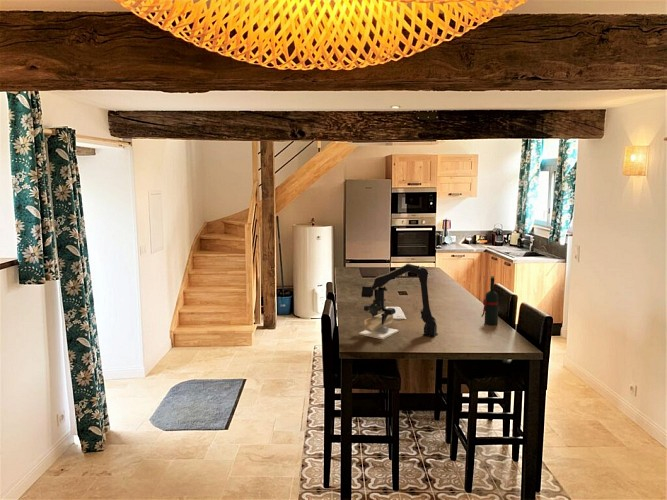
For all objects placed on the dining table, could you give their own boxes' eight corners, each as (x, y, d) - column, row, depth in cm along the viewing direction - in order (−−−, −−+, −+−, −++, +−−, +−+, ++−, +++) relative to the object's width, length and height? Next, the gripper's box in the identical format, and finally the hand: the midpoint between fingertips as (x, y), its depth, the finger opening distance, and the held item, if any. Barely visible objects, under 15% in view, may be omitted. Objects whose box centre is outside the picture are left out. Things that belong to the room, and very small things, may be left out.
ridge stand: (398, 331, 302) (398, 325, 302) (382, 339, 288) (382, 332, 288) (376, 327, 312) (376, 320, 311) (359, 334, 298) (359, 327, 297)
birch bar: (393, 322, 307) (393, 312, 307) (371, 331, 288) (371, 321, 288) (386, 320, 310) (386, 311, 309) (364, 330, 291) (364, 320, 290)
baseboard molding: (402, 308, 359) (385, 308, 359) (402, 304, 358) (385, 304, 358) (409, 320, 328) (390, 320, 328) (409, 316, 328) (390, 316, 328)
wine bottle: (478, 322, 320) (480, 275, 316) (494, 321, 322) (495, 274, 317) (484, 325, 312) (485, 277, 308) (499, 325, 314) (501, 276, 310)
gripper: (358, 298, 296) (358, 324, 298) (385, 302, 285) (385, 329, 287) (368, 294, 305) (368, 320, 307) (396, 298, 294) (395, 325, 296)
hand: (379, 323), depth 299 cm, fingers closed on birch bar, 4 cm apart
